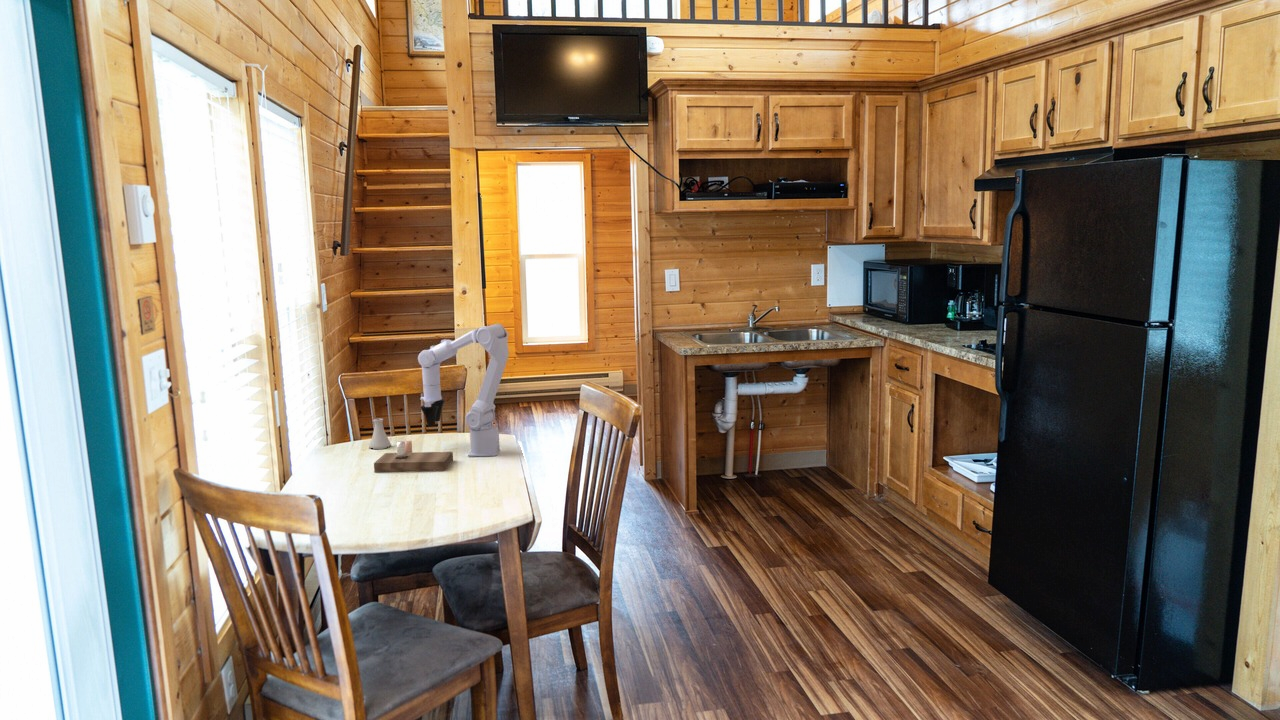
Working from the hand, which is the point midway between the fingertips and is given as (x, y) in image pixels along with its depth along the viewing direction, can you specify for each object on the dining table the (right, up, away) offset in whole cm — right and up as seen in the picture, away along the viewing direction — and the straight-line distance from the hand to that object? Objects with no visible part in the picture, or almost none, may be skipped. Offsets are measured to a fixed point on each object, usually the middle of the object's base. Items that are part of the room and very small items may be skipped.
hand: (434, 423), depth 285 cm
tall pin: (-6, -12, -18) cm, 23 cm away
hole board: (-2, -12, -18) cm, 22 cm away
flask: (-21, -9, +8) cm, 24 cm away
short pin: (-8, -10, -3) cm, 13 cm away
